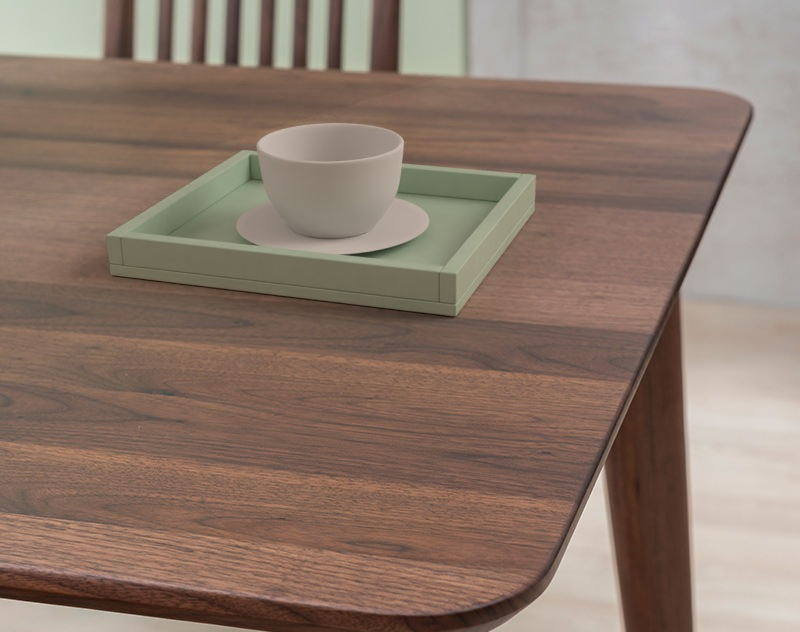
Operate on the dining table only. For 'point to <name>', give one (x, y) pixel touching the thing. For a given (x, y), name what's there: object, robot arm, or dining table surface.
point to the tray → (322, 272)
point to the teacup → (332, 191)
